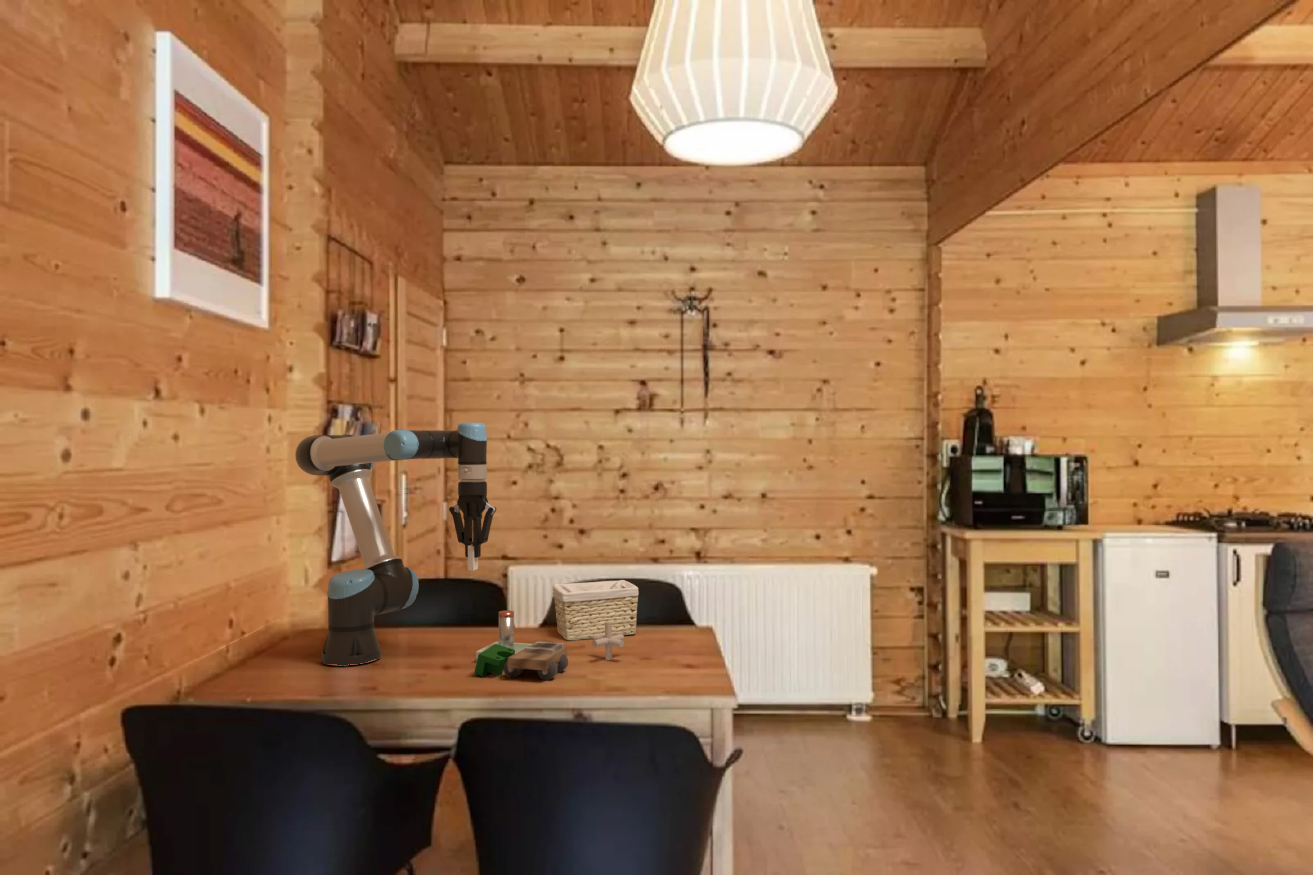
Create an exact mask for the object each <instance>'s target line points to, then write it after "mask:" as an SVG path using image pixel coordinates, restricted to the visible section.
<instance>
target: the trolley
mask: <svg viewBox="0 0 1313 875" xmlns="http://www.w3.org/2000/svg"><path fill="white" fill-rule="evenodd" d="M564 643H565V642H551V641H535V642H533V643H531V644H532V645H530V646H528V647H526V648H524V649H523V650H521V651H519V652H517V653H515V654H514V655H512V656H510V657H508V661H507V662H506V663H505V664H504V669H503V672H504V674H505V676H507V677H508V678H510V677H515V678H517V677H518V676H520V675H521V674H522V673H523V672H524V671H523V670H526V671H528V670H535V671H536V670H537V675H538V677H539V678H540V679H541V680H543V681H550V680H551V679H553V678H554V677H556V676H557V674H559V673H562V672H563V671H564V670H566V669H567V667H568V666H569V659H568V646H564V645H565V644H564Z"/></svg>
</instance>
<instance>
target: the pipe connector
mask: <svg viewBox="0 0 1313 875" xmlns="http://www.w3.org/2000/svg"><path fill="white" fill-rule="evenodd" d="M592 640H593V641H592V646H593V648H598V647H602V646H605V647H604V649H605V650H604V653H605V656H604V658H605V661H607V660H610V661H612V660H613V646H614V647H619V648H623V647H624V646H625V641H624V640H625V635H623V634H619V635H615V636H612V622H610V621H607V622H605V637H604V636H600V635H595V636H594V638H593V639H592Z"/></svg>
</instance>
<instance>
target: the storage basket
mask: <svg viewBox="0 0 1313 875" xmlns="http://www.w3.org/2000/svg"><path fill="white" fill-rule="evenodd" d="M552 597H553V599H554V605H555V606H554V608H555V617H556V618H555V619H556V628H557V632H558V634H559V635H560V636H562V637H563V639H564V640H566V641H579V640H593V638H594V636H595V635H600V636H604V637H605V622H607V621H610V622H612V636H615V635H619V634H623V636H628V635H629V636H630V635H636V633H637V613H638V602H639V587H638V586H636V585H635V584H634V583H631V582H629V581H627V580H625V579H620V580H602V581H591V582H590V581H589V582H574V583H573V582H572V583H571V582H569V583H555V584H552Z"/></svg>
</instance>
